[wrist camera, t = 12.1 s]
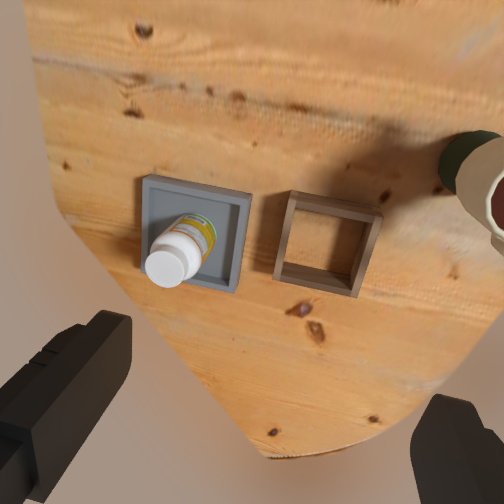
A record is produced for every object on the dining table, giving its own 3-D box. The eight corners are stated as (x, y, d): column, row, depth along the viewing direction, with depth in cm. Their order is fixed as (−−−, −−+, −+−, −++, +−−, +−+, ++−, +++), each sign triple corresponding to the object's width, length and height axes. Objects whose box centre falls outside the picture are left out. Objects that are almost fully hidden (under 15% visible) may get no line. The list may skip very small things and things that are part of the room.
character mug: (499, 214, 38) (578, 272, 26) (425, 215, 39) (469, 270, 27) (524, 100, 33) (634, 108, 22) (440, 105, 34) (500, 115, 23)
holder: (291, 189, 40) (288, 198, 37) (378, 207, 39) (383, 217, 36) (275, 265, 44) (272, 279, 41) (354, 282, 43) (357, 298, 40)
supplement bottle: (186, 259, 45) (154, 300, 36) (166, 220, 43) (127, 254, 35) (224, 246, 44) (200, 286, 35) (205, 205, 42) (174, 236, 33)
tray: (151, 173, 42) (142, 178, 40) (252, 193, 41) (248, 199, 39) (148, 264, 47) (140, 272, 45) (238, 284, 46) (234, 293, 44)
